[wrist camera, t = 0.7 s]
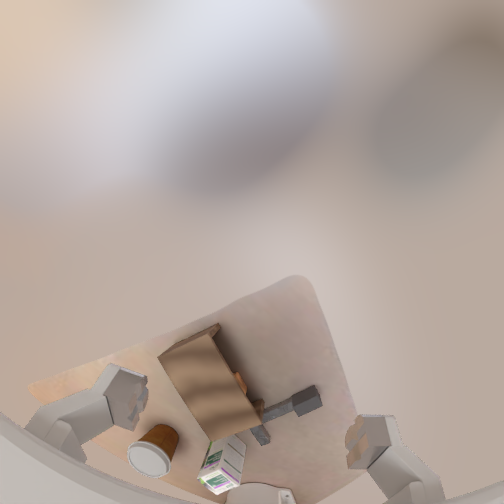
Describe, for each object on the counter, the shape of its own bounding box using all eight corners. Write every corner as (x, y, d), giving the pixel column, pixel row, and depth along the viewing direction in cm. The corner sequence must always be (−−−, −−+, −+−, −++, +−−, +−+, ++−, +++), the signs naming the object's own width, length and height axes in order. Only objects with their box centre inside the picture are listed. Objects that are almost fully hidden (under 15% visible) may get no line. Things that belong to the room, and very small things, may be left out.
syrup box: (230, 429, 55) (217, 468, 41) (247, 445, 55) (240, 486, 40) (210, 440, 55) (194, 478, 41) (228, 456, 55) (217, 496, 40)
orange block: (247, 387, 55) (245, 395, 51) (230, 394, 56) (226, 403, 52) (237, 371, 56) (234, 378, 52) (220, 379, 56) (216, 386, 52)
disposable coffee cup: (160, 453, 56) (142, 481, 44) (139, 423, 57) (116, 448, 45) (193, 446, 56) (177, 476, 44) (171, 414, 56) (151, 441, 44)
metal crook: (328, 411, 54) (332, 422, 49) (262, 439, 54) (260, 452, 50) (314, 385, 54) (317, 395, 49) (245, 415, 55) (242, 427, 50)
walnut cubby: (264, 402, 55) (262, 423, 46) (220, 419, 55) (211, 441, 46) (218, 323, 56) (207, 333, 47) (174, 344, 57) (157, 357, 48)
